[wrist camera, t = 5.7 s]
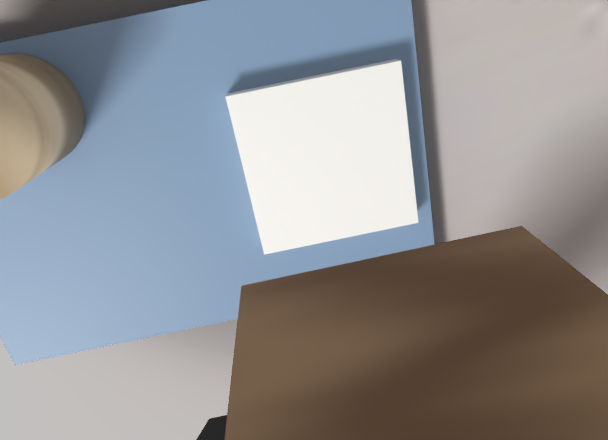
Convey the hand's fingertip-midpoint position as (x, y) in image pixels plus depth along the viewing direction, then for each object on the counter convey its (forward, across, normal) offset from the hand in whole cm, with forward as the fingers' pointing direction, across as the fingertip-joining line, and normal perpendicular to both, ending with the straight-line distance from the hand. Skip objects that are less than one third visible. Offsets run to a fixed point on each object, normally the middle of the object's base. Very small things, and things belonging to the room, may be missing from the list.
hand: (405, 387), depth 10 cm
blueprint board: (+17, +7, -1) cm, 18 cm away
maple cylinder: (+16, +13, -6) cm, 21 cm away
